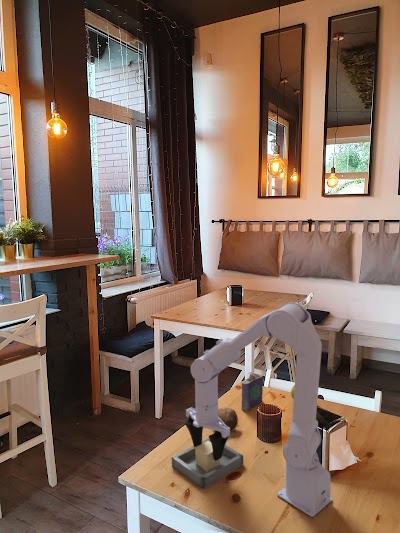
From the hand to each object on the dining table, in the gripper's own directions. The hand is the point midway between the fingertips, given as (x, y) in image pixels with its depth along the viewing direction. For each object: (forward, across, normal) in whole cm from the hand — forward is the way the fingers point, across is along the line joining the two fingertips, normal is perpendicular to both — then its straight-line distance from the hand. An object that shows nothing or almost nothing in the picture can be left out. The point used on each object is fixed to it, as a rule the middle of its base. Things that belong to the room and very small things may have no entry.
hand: (207, 452), depth 103 cm
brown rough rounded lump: (+4, -10, +16) cm, 19 cm away
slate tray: (+4, 0, 0) cm, 4 cm away
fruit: (+4, -4, +47) cm, 47 cm away
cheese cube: (+3, 0, 0) cm, 3 cm away
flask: (+4, -14, +33) cm, 36 cm away
